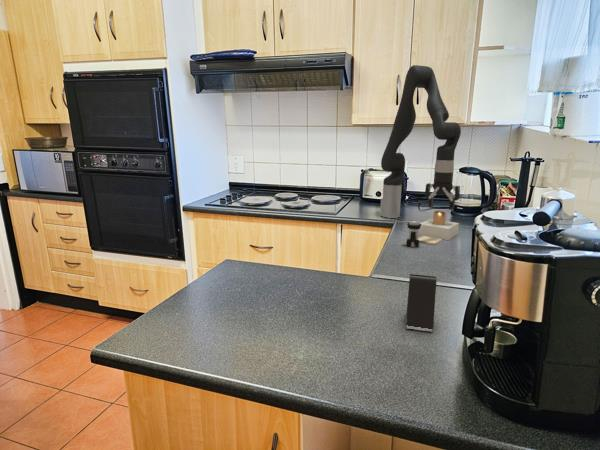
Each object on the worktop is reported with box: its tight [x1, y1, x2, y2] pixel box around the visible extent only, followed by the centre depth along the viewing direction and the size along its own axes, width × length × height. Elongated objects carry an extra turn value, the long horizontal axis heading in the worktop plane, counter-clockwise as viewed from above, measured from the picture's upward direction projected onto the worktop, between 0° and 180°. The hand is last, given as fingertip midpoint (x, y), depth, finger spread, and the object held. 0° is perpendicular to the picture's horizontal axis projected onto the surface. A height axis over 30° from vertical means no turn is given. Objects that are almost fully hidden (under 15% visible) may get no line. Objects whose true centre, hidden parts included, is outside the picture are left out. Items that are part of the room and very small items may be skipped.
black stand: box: [401, 220, 421, 248], centre depth 153 cm, size 7×5×10 cm
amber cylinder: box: [432, 210, 447, 225], centre depth 170 cm, size 5×5×10 cm
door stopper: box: [405, 273, 437, 330], centre depth 92 cm, size 9×6×12 cm, turn 164°
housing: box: [418, 218, 460, 241], centre depth 171 cm, size 13×13×5 cm
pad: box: [418, 236, 443, 246], centre depth 161 cm, size 8×8×1 cm
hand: (440, 208), depth 168 cm, fingers open, 8 cm apart
